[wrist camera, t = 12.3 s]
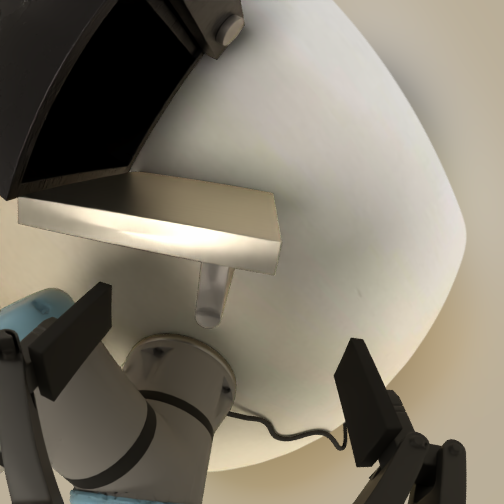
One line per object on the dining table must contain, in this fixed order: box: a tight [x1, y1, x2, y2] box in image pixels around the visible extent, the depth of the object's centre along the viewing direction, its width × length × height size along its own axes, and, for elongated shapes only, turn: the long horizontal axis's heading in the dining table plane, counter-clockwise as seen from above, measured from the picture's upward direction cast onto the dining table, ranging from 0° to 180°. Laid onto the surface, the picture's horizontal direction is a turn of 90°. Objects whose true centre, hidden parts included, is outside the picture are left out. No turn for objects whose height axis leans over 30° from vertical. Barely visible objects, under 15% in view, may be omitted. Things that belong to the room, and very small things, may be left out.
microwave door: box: [18, 171, 282, 329], centre depth 23 cm, size 7×15×18 cm, turn 80°
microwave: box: [0, 0, 245, 201], centre depth 18 cm, size 18×20×18 cm
